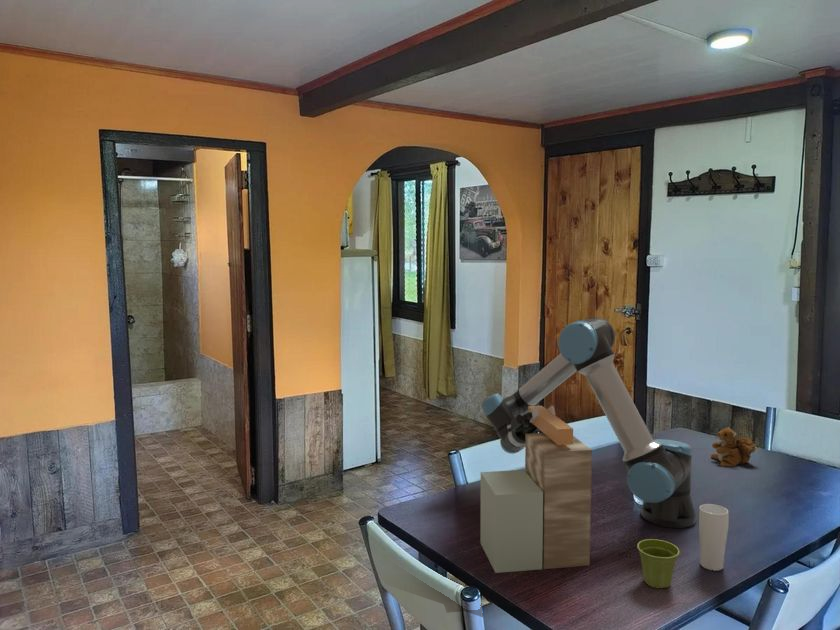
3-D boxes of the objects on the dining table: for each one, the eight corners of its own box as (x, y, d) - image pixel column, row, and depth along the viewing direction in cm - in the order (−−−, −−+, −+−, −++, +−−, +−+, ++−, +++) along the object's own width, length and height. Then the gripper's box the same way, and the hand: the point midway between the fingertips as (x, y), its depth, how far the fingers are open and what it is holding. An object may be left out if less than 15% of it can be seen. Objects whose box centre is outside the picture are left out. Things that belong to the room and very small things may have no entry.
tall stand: (524, 540, 173) (525, 433, 170) (566, 536, 174) (568, 431, 171) (543, 569, 157) (545, 452, 154) (589, 565, 158) (591, 450, 155)
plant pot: (674, 597, 144) (675, 561, 143) (632, 586, 149) (633, 551, 148) (681, 579, 152) (682, 544, 151) (641, 569, 157) (642, 535, 156)
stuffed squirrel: (708, 457, 240) (709, 423, 238) (748, 459, 237) (749, 425, 236) (716, 466, 230) (717, 431, 229) (757, 468, 228) (759, 432, 226)
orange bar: (528, 419, 180) (528, 406, 180) (541, 419, 180) (541, 405, 180) (557, 445, 156) (557, 429, 156) (573, 444, 157) (573, 428, 156)
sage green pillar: (480, 543, 171) (480, 472, 169) (523, 540, 173) (523, 469, 171) (495, 572, 155) (495, 494, 153) (542, 569, 157) (543, 491, 155)
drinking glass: (729, 574, 153) (732, 515, 152) (700, 572, 155) (702, 513, 153) (722, 561, 160) (724, 504, 159) (694, 558, 161) (696, 502, 160)
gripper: (551, 442, 192) (577, 422, 171) (497, 445, 190) (516, 426, 168) (547, 418, 195) (572, 396, 174) (494, 421, 193) (512, 399, 172)
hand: (545, 411), depth 171 cm, fingers closed on orange bar, 4 cm apart
